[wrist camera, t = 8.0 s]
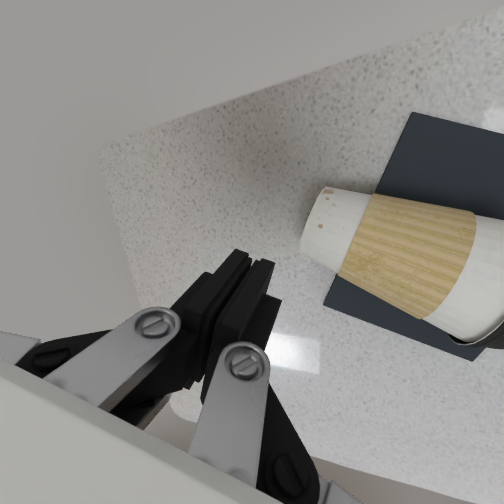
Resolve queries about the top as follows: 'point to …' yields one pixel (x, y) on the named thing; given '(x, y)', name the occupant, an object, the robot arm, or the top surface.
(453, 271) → the coffee cup
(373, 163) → the top surface
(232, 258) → the robot arm
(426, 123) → the mat
